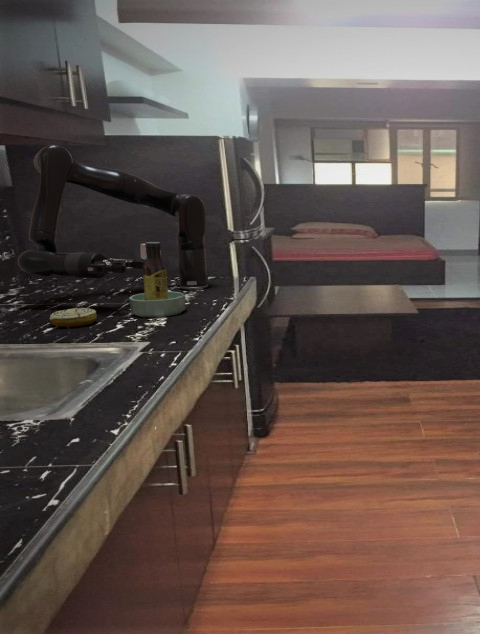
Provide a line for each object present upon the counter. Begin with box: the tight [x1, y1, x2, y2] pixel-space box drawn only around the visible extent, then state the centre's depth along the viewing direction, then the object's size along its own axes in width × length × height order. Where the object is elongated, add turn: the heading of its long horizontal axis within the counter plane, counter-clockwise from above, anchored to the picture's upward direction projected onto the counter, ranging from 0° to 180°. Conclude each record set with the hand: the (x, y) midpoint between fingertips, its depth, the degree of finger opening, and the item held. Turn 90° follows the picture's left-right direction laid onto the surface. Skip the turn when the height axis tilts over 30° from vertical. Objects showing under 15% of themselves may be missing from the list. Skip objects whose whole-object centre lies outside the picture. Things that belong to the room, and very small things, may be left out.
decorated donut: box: [49, 307, 98, 328], centre depth 161 cm, size 10×11×4 cm
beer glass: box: [139, 242, 162, 262], centre depth 224 cm, size 7×7×15 cm
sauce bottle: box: [142, 241, 169, 301], centre depth 174 cm, size 6×6×20 cm
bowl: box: [129, 291, 187, 318], centre depth 176 cm, size 15×15×5 cm
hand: (135, 267), depth 175 cm, fingers open, 8 cm apart
